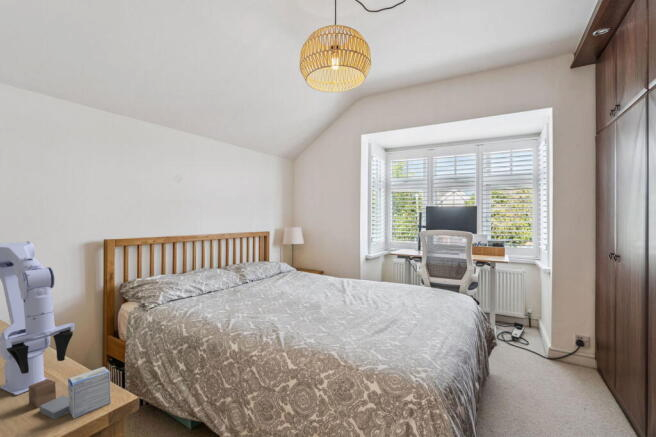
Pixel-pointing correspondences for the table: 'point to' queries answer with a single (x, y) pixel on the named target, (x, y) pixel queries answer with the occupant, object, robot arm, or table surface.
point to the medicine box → (89, 391)
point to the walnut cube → (42, 393)
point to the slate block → (56, 407)
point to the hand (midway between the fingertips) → (43, 366)
